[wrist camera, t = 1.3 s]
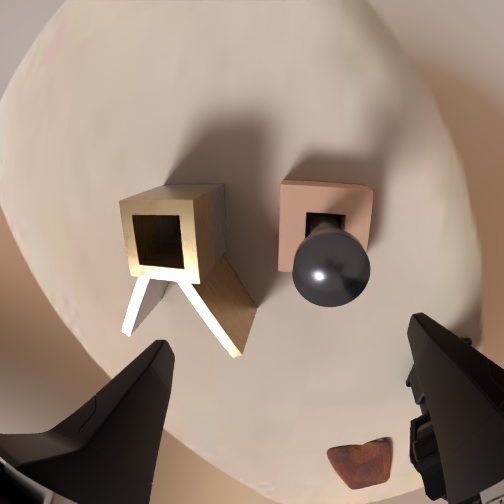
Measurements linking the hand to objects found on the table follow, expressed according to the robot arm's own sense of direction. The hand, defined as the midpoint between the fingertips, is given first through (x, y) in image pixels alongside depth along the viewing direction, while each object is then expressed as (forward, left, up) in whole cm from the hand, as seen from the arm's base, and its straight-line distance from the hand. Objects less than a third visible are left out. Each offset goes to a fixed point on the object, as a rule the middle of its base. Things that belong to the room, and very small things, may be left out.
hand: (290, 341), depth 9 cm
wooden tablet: (-17, +43, -13) cm, 48 cm away
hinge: (+8, +2, -12) cm, 15 cm away
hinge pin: (-2, -1, -12) cm, 13 cm away
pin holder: (-2, -1, -12) cm, 13 cm away
